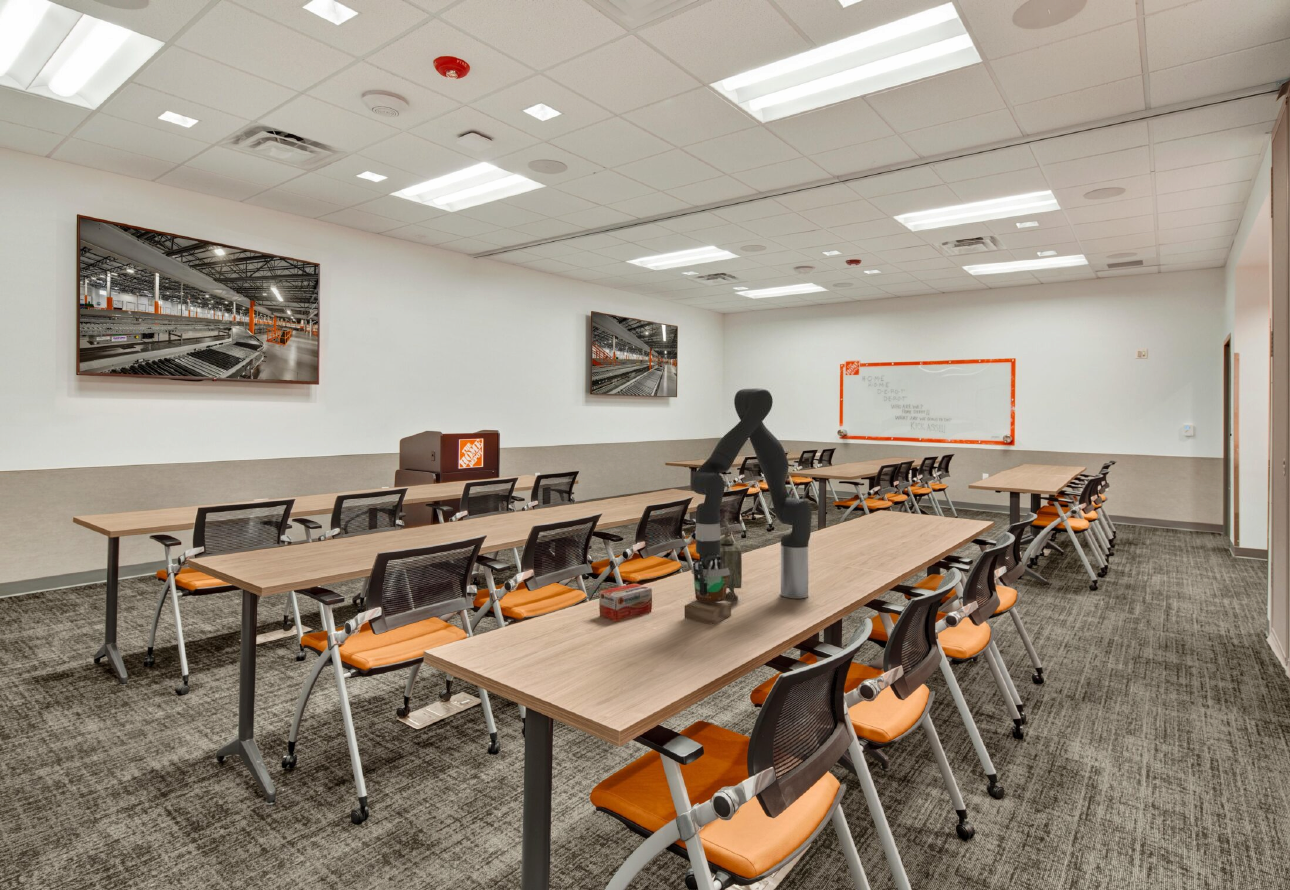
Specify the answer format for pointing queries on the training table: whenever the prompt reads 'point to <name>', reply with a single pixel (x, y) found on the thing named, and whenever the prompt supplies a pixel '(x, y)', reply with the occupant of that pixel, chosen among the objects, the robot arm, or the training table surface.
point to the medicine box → (625, 602)
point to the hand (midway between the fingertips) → (708, 592)
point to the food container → (713, 585)
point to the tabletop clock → (731, 561)
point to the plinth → (707, 611)
